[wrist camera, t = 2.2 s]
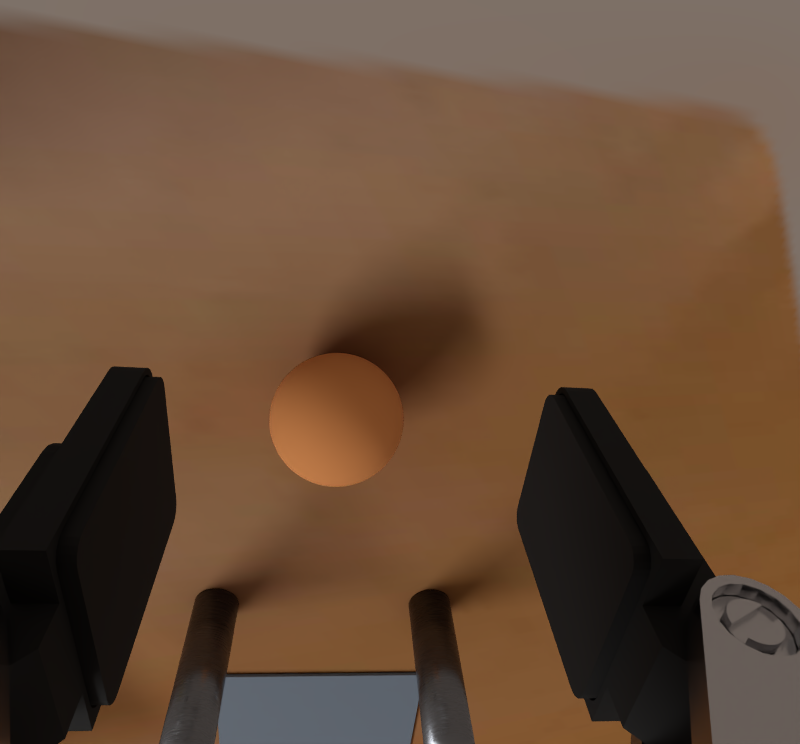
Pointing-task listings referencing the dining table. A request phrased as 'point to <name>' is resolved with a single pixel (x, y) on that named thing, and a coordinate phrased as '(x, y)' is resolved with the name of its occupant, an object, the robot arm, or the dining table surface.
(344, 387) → the ball
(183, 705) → the post
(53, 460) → the robot arm
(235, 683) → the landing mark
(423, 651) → the post
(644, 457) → the dining table surface
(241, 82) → the dining table surface
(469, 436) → the dining table surface
